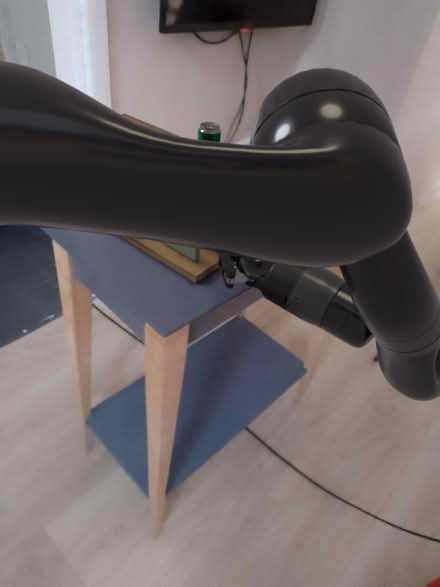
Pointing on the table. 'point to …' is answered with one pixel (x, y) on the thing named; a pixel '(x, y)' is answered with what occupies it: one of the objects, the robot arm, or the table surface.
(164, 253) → the door frame
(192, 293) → the table surface
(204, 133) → the soda can
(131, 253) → the table surface
